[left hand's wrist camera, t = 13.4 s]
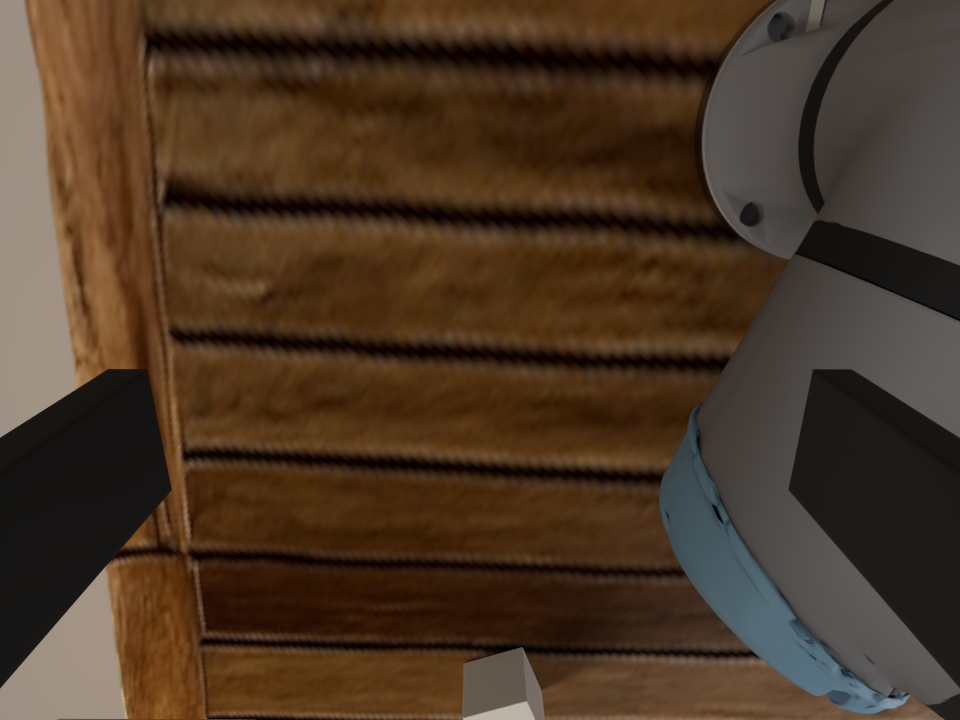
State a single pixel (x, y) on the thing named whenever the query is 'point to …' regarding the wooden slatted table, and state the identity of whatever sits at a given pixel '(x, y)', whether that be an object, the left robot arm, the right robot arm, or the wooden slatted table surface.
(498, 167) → the wooden slatted table surface
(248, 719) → the ash bar
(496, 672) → the white cube
